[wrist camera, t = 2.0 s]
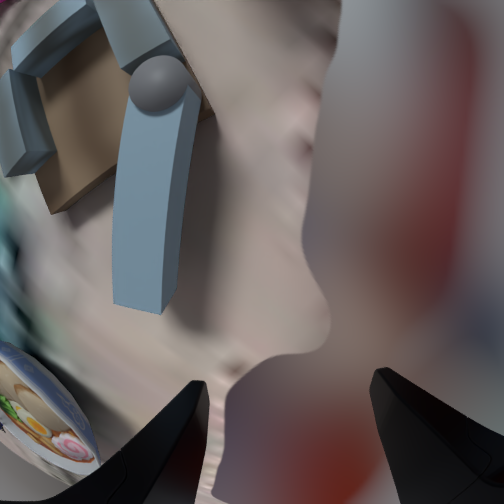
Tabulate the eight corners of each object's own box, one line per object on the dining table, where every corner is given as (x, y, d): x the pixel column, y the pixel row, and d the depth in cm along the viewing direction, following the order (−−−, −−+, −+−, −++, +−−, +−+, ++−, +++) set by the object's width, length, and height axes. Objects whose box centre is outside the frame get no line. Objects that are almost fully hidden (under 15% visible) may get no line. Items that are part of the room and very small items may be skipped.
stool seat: (147, -10, 13) (123, -43, 8) (215, 114, 16) (198, 93, 11) (25, 85, 15) (-14, 77, 9) (65, 210, 18) (21, 225, 13)
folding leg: (159, 76, 14) (136, 56, 10) (206, 78, 14) (192, 55, 10) (135, 280, 18) (111, 306, 14) (176, 288, 18) (159, 317, 14)
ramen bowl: (112, 458, 30) (98, 495, 22) (3, 386, 27) (-20, 414, 19) (135, 371, 23) (104, 434, 15) (-16, 266, 20) (-61, 292, 12)
